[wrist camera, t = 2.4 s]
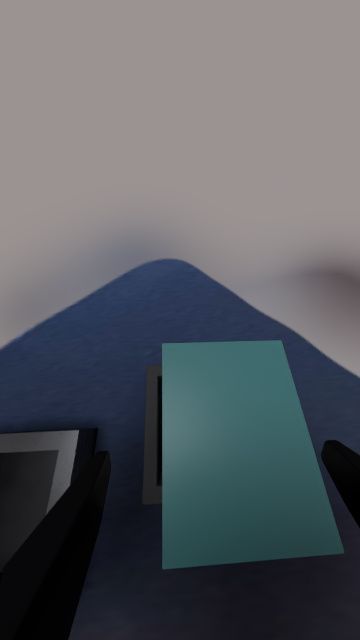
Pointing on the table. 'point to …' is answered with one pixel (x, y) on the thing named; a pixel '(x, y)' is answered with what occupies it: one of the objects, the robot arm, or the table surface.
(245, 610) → the table surface
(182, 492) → the plug
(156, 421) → the frame
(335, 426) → the table surface
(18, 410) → the table surface
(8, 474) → the port
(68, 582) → the robot arm
